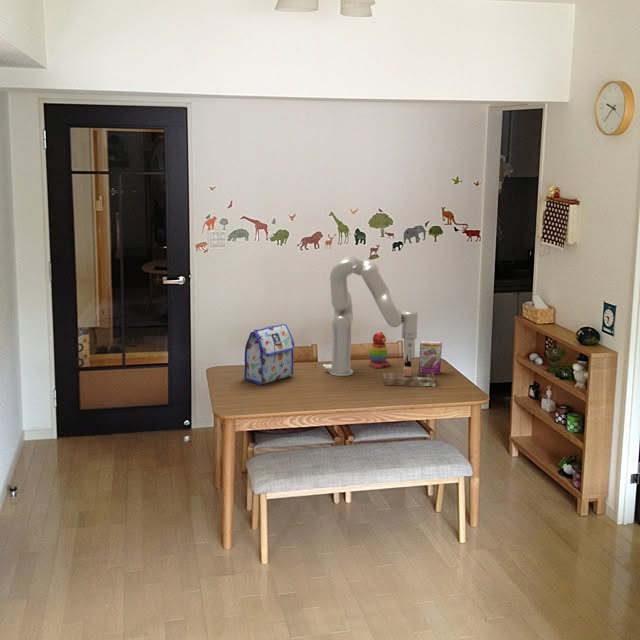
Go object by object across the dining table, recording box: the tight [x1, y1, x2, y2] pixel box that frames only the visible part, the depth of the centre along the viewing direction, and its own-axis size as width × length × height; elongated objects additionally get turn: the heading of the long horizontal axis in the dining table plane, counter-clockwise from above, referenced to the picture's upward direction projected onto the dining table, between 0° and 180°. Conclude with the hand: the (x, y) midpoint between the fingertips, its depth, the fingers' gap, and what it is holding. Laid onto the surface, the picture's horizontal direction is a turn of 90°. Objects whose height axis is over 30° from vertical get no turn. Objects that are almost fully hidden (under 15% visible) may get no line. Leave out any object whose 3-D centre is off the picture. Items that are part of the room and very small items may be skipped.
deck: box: [382, 371, 437, 388], centre depth 426 cm, size 25×15×4 cm, turn 89°
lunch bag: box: [243, 323, 295, 386], centre depth 424 cm, size 23×17×27 cm
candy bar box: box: [418, 340, 443, 375], centre depth 440 cm, size 11×5×16 cm, turn 84°
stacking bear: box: [368, 331, 391, 369], centre depth 452 cm, size 11×10×18 cm
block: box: [402, 366, 413, 377], centre depth 429 cm, size 4×4×4 cm
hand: (407, 369), depth 434 cm, fingers closed
